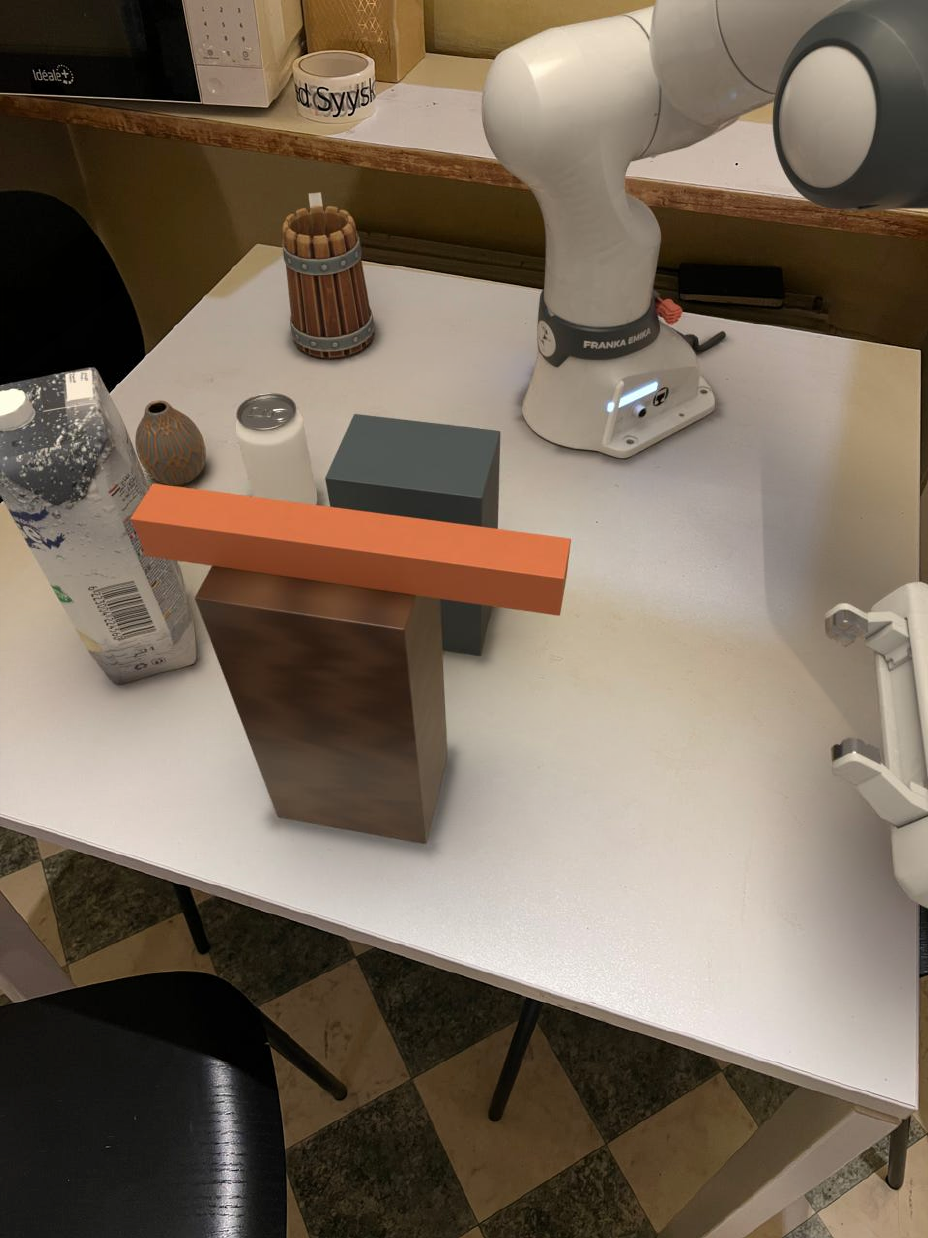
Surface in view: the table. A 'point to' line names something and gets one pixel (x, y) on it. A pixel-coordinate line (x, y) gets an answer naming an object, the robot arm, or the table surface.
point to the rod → (355, 548)
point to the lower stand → (423, 490)
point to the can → (275, 449)
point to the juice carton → (91, 523)
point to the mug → (326, 282)
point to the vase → (169, 445)
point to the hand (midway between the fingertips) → (835, 681)
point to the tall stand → (335, 696)
